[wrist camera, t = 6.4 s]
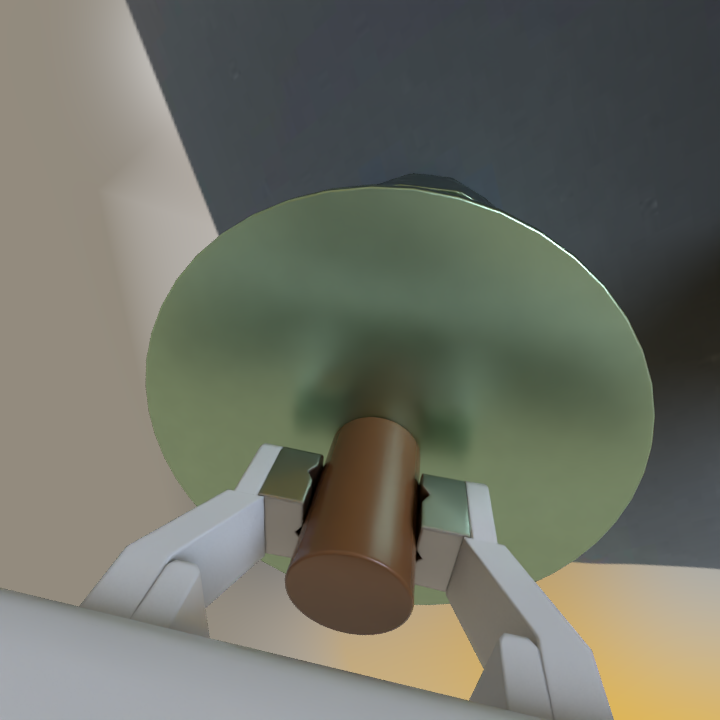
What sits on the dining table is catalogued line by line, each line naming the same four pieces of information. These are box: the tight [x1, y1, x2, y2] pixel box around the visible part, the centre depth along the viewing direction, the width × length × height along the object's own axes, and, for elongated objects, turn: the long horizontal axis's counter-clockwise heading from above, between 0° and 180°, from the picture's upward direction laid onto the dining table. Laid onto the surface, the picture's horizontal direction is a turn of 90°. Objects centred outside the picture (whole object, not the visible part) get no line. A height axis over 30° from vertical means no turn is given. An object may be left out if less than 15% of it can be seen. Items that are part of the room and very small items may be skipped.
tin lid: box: [146, 185, 655, 635], centre depth 10 cm, size 13×13×5 cm
